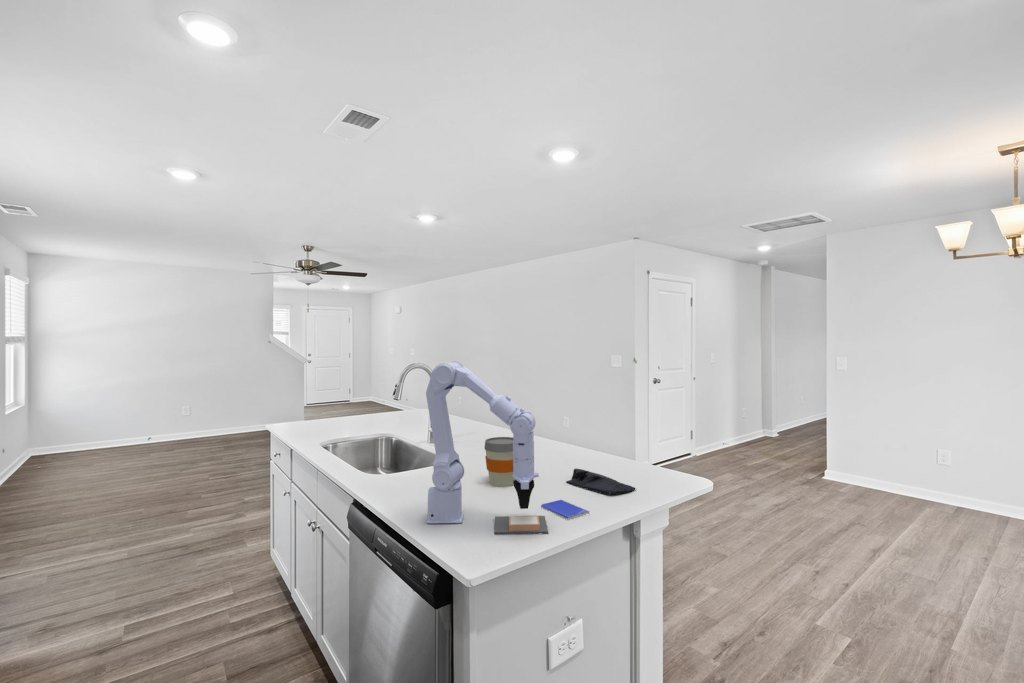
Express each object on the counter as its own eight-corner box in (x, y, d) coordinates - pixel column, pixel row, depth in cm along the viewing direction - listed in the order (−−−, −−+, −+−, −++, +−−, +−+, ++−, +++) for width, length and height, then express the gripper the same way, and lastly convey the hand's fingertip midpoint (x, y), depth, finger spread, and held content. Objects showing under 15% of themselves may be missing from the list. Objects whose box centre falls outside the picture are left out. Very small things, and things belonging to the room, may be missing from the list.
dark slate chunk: (606, 500, 149) (606, 485, 149) (562, 483, 168) (562, 469, 168) (640, 491, 158) (640, 477, 158) (594, 476, 176) (594, 463, 176)
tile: (508, 522, 129) (509, 531, 123) (508, 516, 129) (509, 524, 123) (538, 521, 129) (539, 530, 123) (538, 515, 129) (539, 524, 123)
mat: (494, 534, 123) (494, 532, 123) (495, 518, 134) (494, 516, 134) (548, 533, 123) (548, 531, 123) (544, 517, 134) (544, 515, 134)
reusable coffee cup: (509, 490, 159) (508, 445, 158) (477, 485, 165) (477, 442, 165) (526, 480, 169) (526, 438, 169) (496, 476, 176) (496, 435, 176)
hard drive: (589, 510, 136) (561, 499, 147) (567, 516, 132) (540, 504, 142) (589, 516, 136) (562, 504, 147) (567, 522, 132) (540, 509, 142)
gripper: (540, 464, 121) (540, 517, 121) (536, 451, 136) (536, 498, 136) (512, 464, 121) (513, 517, 121) (511, 451, 136) (512, 499, 136)
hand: (523, 507), depth 129 cm, fingers closed
